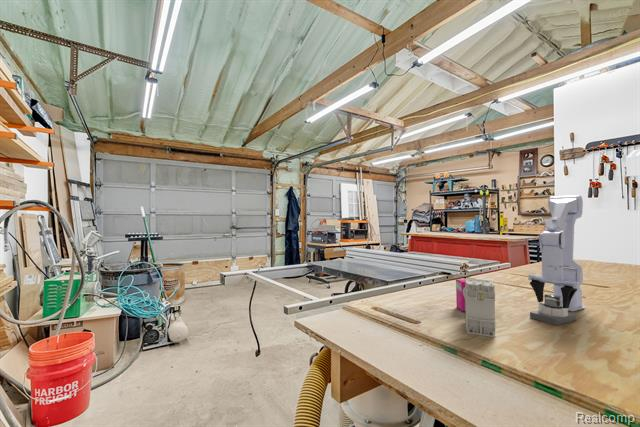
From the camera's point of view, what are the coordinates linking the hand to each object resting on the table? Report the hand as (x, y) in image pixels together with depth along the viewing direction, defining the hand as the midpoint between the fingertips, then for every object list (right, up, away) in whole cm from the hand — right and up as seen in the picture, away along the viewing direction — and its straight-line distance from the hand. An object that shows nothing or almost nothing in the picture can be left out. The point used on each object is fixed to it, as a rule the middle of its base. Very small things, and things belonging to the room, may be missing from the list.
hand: (552, 304), depth 99 cm
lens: (0, -3, 0) cm, 3 cm away
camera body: (0, -5, 0) cm, 5 cm away
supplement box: (-25, -5, +9) cm, 27 cm away
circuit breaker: (-30, -5, -7) cm, 31 cm away
